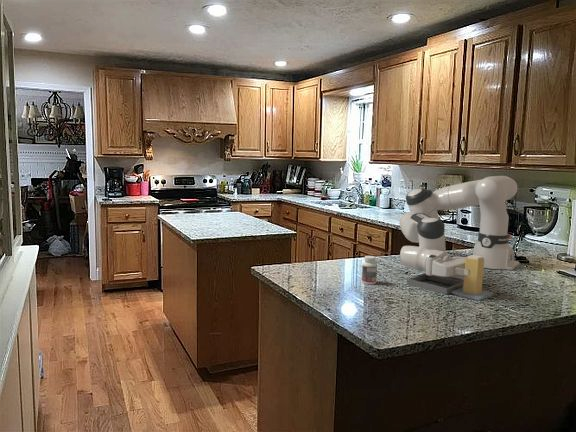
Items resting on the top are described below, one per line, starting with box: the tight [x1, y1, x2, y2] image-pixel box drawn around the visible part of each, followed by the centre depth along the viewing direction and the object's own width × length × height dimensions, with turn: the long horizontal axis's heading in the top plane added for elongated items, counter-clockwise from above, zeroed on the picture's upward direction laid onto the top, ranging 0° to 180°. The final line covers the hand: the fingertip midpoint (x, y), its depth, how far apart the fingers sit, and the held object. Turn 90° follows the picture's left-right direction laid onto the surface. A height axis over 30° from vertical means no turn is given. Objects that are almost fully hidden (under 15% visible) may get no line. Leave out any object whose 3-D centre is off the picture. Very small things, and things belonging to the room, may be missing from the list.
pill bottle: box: [361, 255, 378, 285], centre depth 175 cm, size 5×5×10 cm
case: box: [406, 273, 464, 295], centre depth 177 cm, size 26×16×2 cm, turn 132°
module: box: [463, 254, 485, 295], centre depth 163 cm, size 4×4×13 cm
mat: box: [450, 287, 494, 302], centre depth 164 cm, size 10×10×1 cm
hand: (476, 270), depth 162 cm, fingers open, 8 cm apart
